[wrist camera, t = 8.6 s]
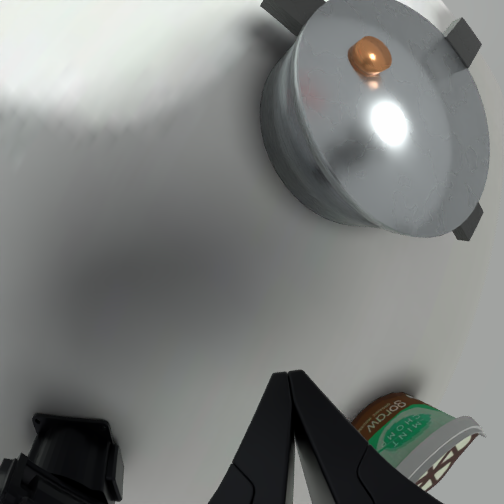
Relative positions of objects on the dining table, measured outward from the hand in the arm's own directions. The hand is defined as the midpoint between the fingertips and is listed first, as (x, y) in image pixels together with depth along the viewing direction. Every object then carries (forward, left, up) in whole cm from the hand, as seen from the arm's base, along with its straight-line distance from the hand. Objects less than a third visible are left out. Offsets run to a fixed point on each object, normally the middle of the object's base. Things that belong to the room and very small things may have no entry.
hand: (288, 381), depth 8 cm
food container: (+15, -14, -13) cm, 24 cm away
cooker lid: (+11, +14, -6) cm, 19 cm away
